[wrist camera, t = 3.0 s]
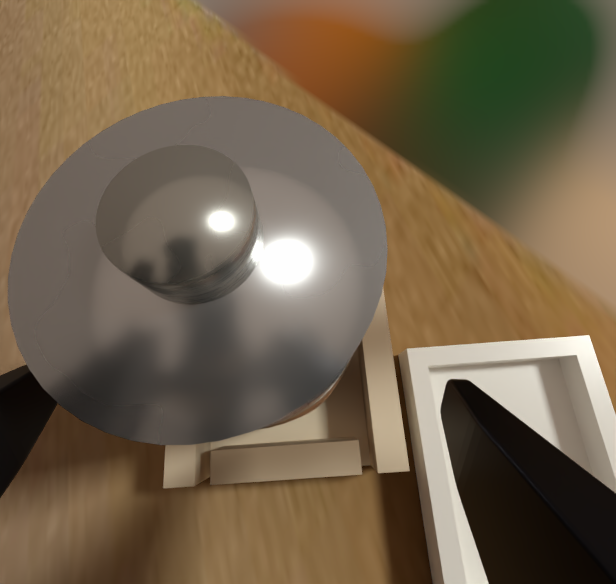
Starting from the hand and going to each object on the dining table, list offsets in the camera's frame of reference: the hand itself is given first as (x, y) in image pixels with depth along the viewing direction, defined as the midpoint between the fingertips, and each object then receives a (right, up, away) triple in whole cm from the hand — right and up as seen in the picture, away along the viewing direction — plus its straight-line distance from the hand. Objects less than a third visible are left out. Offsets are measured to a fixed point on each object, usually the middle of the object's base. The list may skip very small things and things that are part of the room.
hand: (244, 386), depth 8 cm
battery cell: (0, -1, +9) cm, 9 cm away
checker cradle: (0, -1, +9) cm, 9 cm away
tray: (+10, -5, +8) cm, 14 cm away
